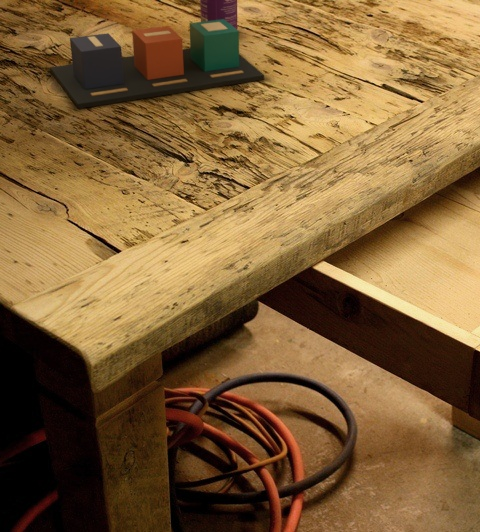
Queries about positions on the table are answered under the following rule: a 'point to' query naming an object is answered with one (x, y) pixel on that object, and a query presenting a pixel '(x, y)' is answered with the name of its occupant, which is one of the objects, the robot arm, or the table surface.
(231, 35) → the green cube
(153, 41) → the orange cube
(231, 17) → the container
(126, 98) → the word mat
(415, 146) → the table surface
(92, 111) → the table surface
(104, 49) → the striped navy gift box
